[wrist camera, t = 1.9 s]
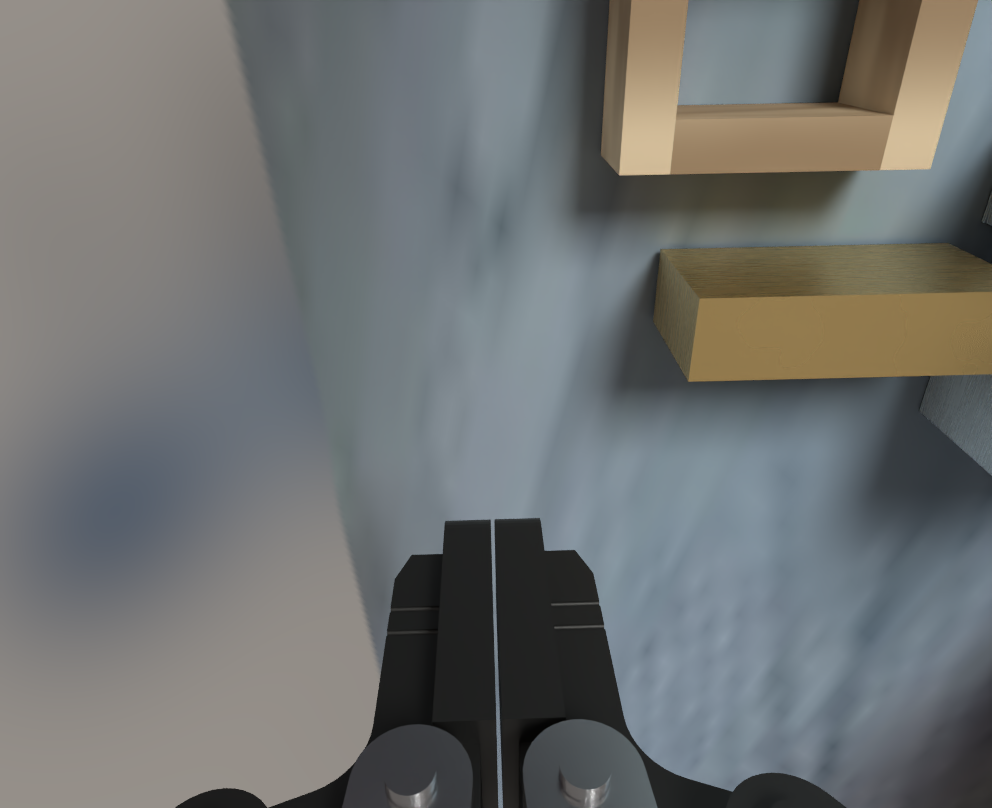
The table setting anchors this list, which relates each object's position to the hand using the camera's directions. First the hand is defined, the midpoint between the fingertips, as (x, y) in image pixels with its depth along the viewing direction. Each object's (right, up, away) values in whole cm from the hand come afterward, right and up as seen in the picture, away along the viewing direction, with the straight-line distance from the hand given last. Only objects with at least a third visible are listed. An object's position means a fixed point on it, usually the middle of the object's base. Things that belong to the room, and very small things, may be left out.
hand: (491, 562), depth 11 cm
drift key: (+10, +7, +11) cm, 16 cm away
